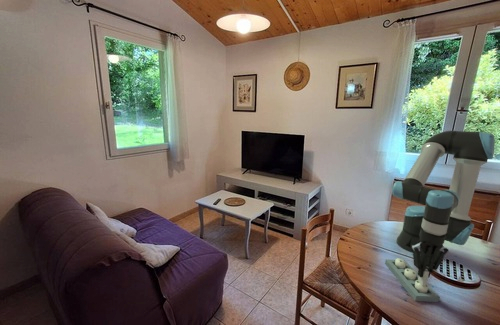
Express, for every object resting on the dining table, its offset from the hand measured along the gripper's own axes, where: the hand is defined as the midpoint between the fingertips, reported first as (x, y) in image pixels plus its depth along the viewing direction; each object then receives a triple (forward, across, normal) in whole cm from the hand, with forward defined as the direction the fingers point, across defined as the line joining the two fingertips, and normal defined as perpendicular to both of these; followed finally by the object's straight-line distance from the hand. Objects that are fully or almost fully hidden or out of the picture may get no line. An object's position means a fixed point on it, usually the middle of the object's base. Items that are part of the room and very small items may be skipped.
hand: (421, 283), depth 90 cm
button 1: (+4, 0, -14) cm, 15 cm away
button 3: (+4, 0, 0) cm, 4 cm away
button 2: (+4, 0, -7) cm, 8 cm away
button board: (+5, 0, -7) cm, 9 cm away
